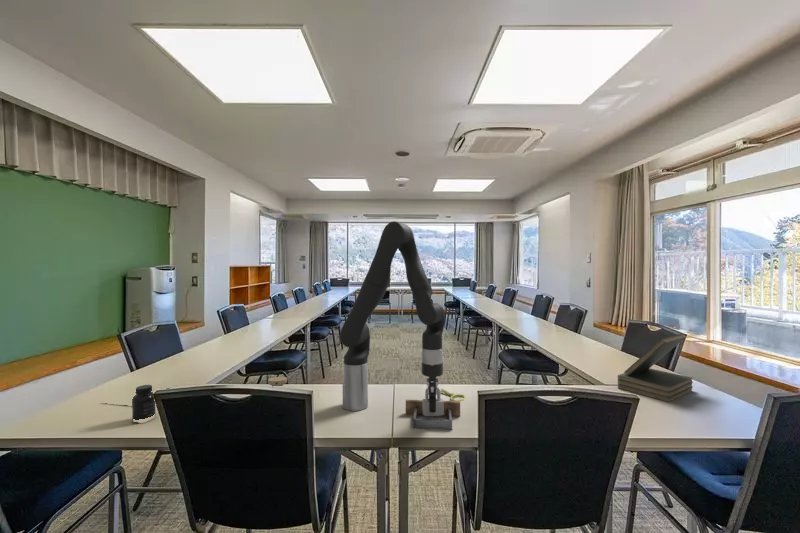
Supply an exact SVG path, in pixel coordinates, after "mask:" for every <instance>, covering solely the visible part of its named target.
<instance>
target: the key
mask: <svg viewBox="0 0 800 533" xmlns="http://www.w3.org/2000/svg"><path fill="white" fill-rule="evenodd" d="M440 393H444V394H446V395H447V396H449V397H450V400H449V401H460V402H462V401H465V400H466V399H465V398H466V395H464V394H462V393H458V394H454V392H453V393H452V392H450V391H448V390H447V389H445V388H440ZM463 397H464V398H463ZM455 398H460V399H455ZM464 399H465V400H464Z"/></svg>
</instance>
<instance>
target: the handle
mask: <svg viewBox="0 0 800 533" xmlns="http://www.w3.org/2000/svg"><path fill="white" fill-rule="evenodd" d="M267 383H268V385H270V386H272V387H273V386H283V387H284V385H285V384H287V383H288V377H286V376H275V377H270V378H268V380H267Z"/></svg>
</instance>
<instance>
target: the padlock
mask: <svg viewBox="0 0 800 533" xmlns="http://www.w3.org/2000/svg"><path fill="white" fill-rule="evenodd" d="M440 390H441V388H439V387H438V386H437V395H436V412H435V413H433V412H430V411H429V401H428V399H429V395H428V387H426V389H425V392H424V395H425V396H424V398H422V399H421V400H422V413H423V415H424V416H440V415H444V409H443V408H444V406H443V405H444V404H443V403H444V402H443V401H444V400H443V398H442V397H441V392H440Z"/></svg>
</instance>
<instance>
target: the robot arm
mask: <svg viewBox="0 0 800 533" xmlns="http://www.w3.org/2000/svg"><path fill="white" fill-rule="evenodd" d="M378 242H379V243H378V245H377V248H376V251H375V255H374V256H373V259H372V261H371V264H370V265H369V269H368V271H367V272H366V275H365V278H364V280H363V282H362V284H361V286H360V289H359V292H358V294H357V296H356V299H355V302H354V304H353V306H352V308H351V310H350V313H349V314H348V316H347V318H346V320H345V322H344V323H343V325H342V327H341V329H340V332H339V338H340V342H341V343H342V344H341V345H343V346H344V347H347V351H346V353H345V354H344V356H343V383H342V409H345V410H347V411H352V412H354V411H355V412H356V411H362V410H365V409H367V408H368V406H369V398H368V397H369V389H368V388H369V383H368V381H369V378H368V375H369V374H368V373H369V372H368V366H369V365H368V364H369V363H368V362H369V360H368V358H369V355H370V346H371V345H370V344H371V332H370V328H369V325H368V324H367V321H368V319H369V317H370V316H371V315H372V313H373V312H374V310H376V308H377V307H378V305H379V304H380V303H381V301H382V300H383V298H384V296H385V294H386V292H387V290H388V287H389V284H390V282H391V273H392V272H391V271H392V269H391V268H392V267H391V266H392V263H393V260H394V257H395V254H396V253H397V251H399V252H400V254H401V256H402V259H403V261H404V265H405V276H406V279H407V280H406V281H407V282H408V286H409V288H410V290H411V292H412V296H413V297H414V305H415V310H416V314H417V315H416V316H417V317H418V319H419V321H420V322H421V323H422V324H423V325H425V326H426V329H425V330H424V332H422V334H421V335H422V336H421V344H422V345H421V374H422V376H425V377H428V378H426V386H427V388H428V401H429V411H430V412H433V413H435V412H436V398H437V387H438V386H439V379H438V377H441V376H443V375H444V353H443V332H444V328H445V324H446V322H445V321H446V313H445V309H444V307H443V306H442V305H441V304H439V303H436V302H435V303H433V300H432V298H431V296H432V295H433V293H434V292H433V291H434V290H433V289H432V285H431V284H430V281H429V279H428V276H427V274H426V271H425V269H424V267H423V264H422V261H421V259H420V255H419V252H418V248H417V244H416V239H415V235H414V232H413V230H412V228H411V227H410V226H409V225H408V224H405V223H402V222H399V221H396V220H395V221H390V222H389V223H387V224H386V225H385V227H384V228H383V230H382V232H381V235H380V239H379V241H378Z"/></svg>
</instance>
